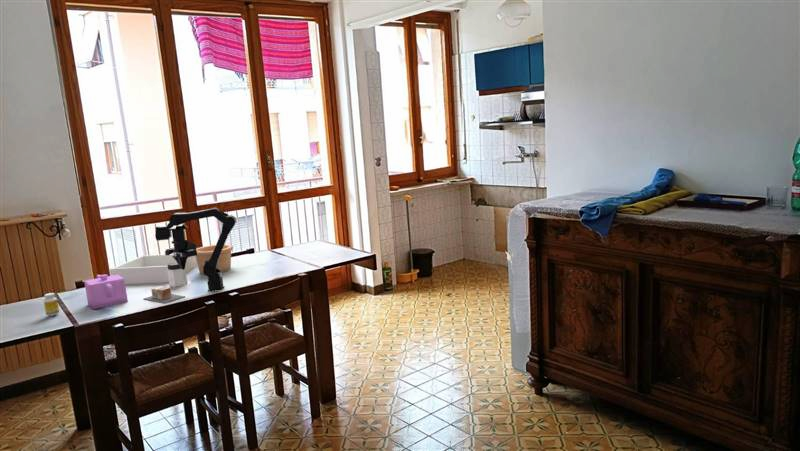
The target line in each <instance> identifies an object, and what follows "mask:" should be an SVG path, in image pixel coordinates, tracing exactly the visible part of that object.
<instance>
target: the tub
mask: <svg viewBox="0 0 800 451" xmlns="http://www.w3.org/2000/svg"><path fill="white" fill-rule="evenodd" d="M172 256H174V255H173V254H170V255H165V253H164V254H163V253H162V254H152V255H151V254H149V255H148V254H147V255H141V256H138V257H136V258H133V259H131V260H128V261H126V262H123V263H121V264H119V265H117V266H115V267H112V268H110V269H109V274H110V275H109V276H113V275H119V276H121V277H122V278H124V280H125V285H133V284H136V285H137V284H154V283H169V278H168V271H167V270H168V264H169V263H173V262H176V260H175V259H174V258H173V257H172ZM196 267H198V264H197V261H196V257H195V256H191V257H188V258H187V260H186V265H185V270H186V274H187V273H188V272H190V271H191V270H193V269H195V268H196Z"/></svg>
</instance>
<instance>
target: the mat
mask: <svg viewBox="0 0 800 451" xmlns="http://www.w3.org/2000/svg"><path fill="white" fill-rule="evenodd" d="M184 298H186V296H185V295H179V294H174V293H171V297H169V298H166V299H159V298H153V297H152V295H151V296H147V297H144V298H143V300H144V301H150V302H156V303H160V304H167V303H171V302H174V301H177V300H180V299H184Z"/></svg>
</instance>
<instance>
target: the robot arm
mask: <svg viewBox="0 0 800 451" xmlns="http://www.w3.org/2000/svg"><path fill="white" fill-rule="evenodd" d="M211 217H212V218H213V217H214V219H215V218H216V219H217V220H218V221H219V222H221V223H222V226H221V232H220V234H219V238H218V239H217V242H216V244H215V245H216V246H215V249H214V251H213V254H212V256H211V258H210V260H209V259H208V258H207V259H206V261H205V265H204V266H203V268H204V269H203V273H204V275H203V276H205V277H207V288H208V289H207V292H216V291H215V290H221V289H222V290H223V289H225V288H224V287H225V286H224V281H223V280H224V279H223V276H222V273H221V271H220V270H219V269H218V268H217V265H218V259H219V256H220V254H221V252H222V249H223V247H224V244H226V241H227V240H228V237H229V234H230V233H231V231H232V230H233V229H234V227H235V225H236V223H237V218H236V216H234V215H232V214H228V213H227V212H224V211H222V210H221V209H219V208H217V207H213V208H208V209H203V210H198V211H197V210H196V211H192V212H175V213H173V214H171V215H170V216H169V221H168V224H166V225H165V226H156V227H155V232H154V233H155V234H154V235H155V236H154V238H155V240H156V241H167V240H168V241H169V240H170V239H171V238H172V241H171V244H172V245H173V247H171V248H167V249H165V251H164V254H165V255H170V254H173V255H174V256H172V257H173V258H174V259H175V260H176V262H177V263H178V265H179V266H180V267H181V269H182V270H183V269H185V265H186V260H187V258H188V257H191V256H195V255H197V251H196V248H198V244H197V243H195V242H190V241H189V240H188V239H186V234H185V230H187V229H188V228H189V226H187V225H186V224H185V223H187V222H191V221H194V220H201V219H206V218H211ZM173 227H174V228H173ZM222 290H221V291H222Z"/></svg>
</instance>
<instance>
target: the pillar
mask: <svg viewBox="0 0 800 451" xmlns="http://www.w3.org/2000/svg"><path fill="white" fill-rule="evenodd" d="M150 289H151V296H152V297H153V298H159V299H166V298H169V297H171V294H172V290H171V287H169V286H168V287H166V286H160V285H159V286H156V287H153V288H150Z"/></svg>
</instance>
